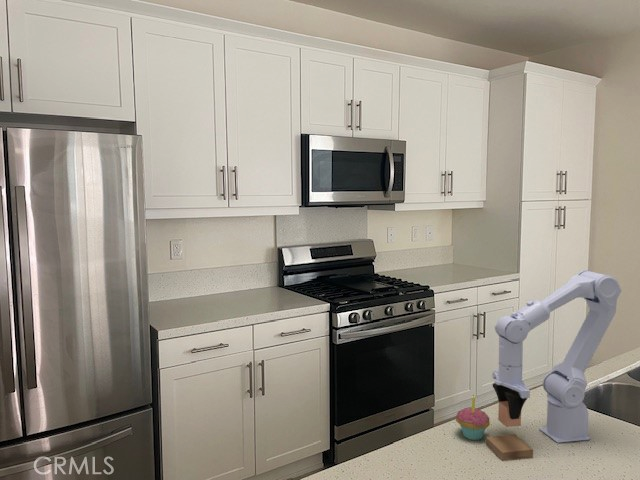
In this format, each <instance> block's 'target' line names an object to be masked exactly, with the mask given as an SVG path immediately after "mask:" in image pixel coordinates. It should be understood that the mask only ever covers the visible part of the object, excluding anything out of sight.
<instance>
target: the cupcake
mask: <svg viewBox="0 0 640 480" xmlns="http://www.w3.org/2000/svg"><path fill="white" fill-rule="evenodd" d="M475 401H476V398H475V394H473V395H472V397H471V406H469V407H464V408H463V409H461V410H459V411H457V413H456V414H455V421H456V422H457V423H458V424H459V425H460V428H461V430H462V434H463V437H465V438H466V439H468V440H473V441H474V440H475V441H477V440H478V441H479V440H481V439H482V438H483V436H484V433H485V431H486V429H487V428H488V427H489V426H490V422H491V421H490V417H489V415H488V414H487V413H486V412H485V411H483V410H481V409H479V408H476V407H475V404H476V402H475Z"/></svg>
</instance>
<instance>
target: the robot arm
mask: <svg viewBox="0 0 640 480" xmlns="http://www.w3.org/2000/svg"><path fill="white" fill-rule="evenodd" d="M621 292H622V288H621V285H620V284H619V281H618V280H617V278H616V277H615V276H613V275H611V274H603V273H599V272H594V271H592V270H588V269H587V270H586V269H584V270H582V271H579V273H577V274H574V275H573V276H571V278H570V279H569V281H567V282H566V283H565V284H564V285H562V286H560V287H559V288H557V290H555V291H554V292H552V293H550V295H548V296H547V297H545V298H544V299H543V300H537V299H534V300H528V301H527V302H526V303H525V304H526V305H524V306H523V307H521V308H520V309H518V310H516V311H512V312H511V313H510V315H504V316H501V317H500V318H499V319H498V321H497V322H496V325H494V330H495V332H496V334H497V336H498V370H492V379H493V380H494V383H492V388H493V390H494V391H495V394H496V398H497V400H498V403H499V402H502V401H508V405H509V414H510V418H511V419H519V416H520V413H521V414H522V409H523V407H524V404H525V402H526V401H527V400H528V399H529V398H531V394H530V393H531V390H530V389H528V387H527V386H526V384H525V382H524V381H523V350H524V348H523V347H524V345H523V344H524V341H525V340H526V339H527V337H528V335H529V333H530V332H531V331H532V330H534V329H535V328H537V327H539V326H540V325H542V324H543V323H545V322H546V321H549V319H550V316H551V312H554V311H555V310H558V308H561V307H562V306H564V305H566V304H568V303H570V302H572V301H574V300H575V299H578V298H581V299H584V300H585V302H586V304H587V306H588V308H589V310H588V312H587V314H586V317H585V318H584V320H583V323H582V325H581V326H580V328H579V330H578V332H577V334H576V336H575V338H574V339H573V341H572V343H571V346H570V347H569V350H568V352H567V353H566V356H565V357H564V358H563V361H562V362H561V363H558V364H556V365H554V366H553V367H552V369H551V370H550V372H548V373H547V374H546V375H545V376H544V377H543V380H542V387H543V388H542V389H543V390H544V391H545V392H546V397H547V402H546V403H547V404H546V405H547V406H546V407H547V408H546V409H547V410H546V426H542V427H539V430H540V431H541V432H542V433H544V434H545V435H546V436H547V437H549V438H550V439H552V440H553V441H554V442H555V443H559V444H560V443H569V442H577V441H578V442H579V441H587V440H590V439H591V437H590V436H588V435H589V411H588V407H587V406H586V405H585V403H584V402H583V401H584V398H585V391H586V387H587V386H588V382H587V379H586V376H585V372H586V370H587V369H588V366H589V364H590V363H591V361H592V359H593V357H594V355H595V354H596V351H597V349H598V348H599V345H600V343H601V341H602V339H603V338H604V336H605V334H606V332H607V330H608V328H609V326H610V325H611V322H612V321H613V319H614V317H615V314H616V311H617V302H618V299H619V296H620V294H621Z"/></svg>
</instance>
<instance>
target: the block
mask: <svg viewBox="0 0 640 480" xmlns="http://www.w3.org/2000/svg"><path fill="white" fill-rule="evenodd" d="M497 414H498V415H497V416H498V418H497V419H498V420H497V421H499V422H500V423H501V424H502V425H504V427H506V428H511V427H520V426H521V425H522V412H521V413H520V416H519V419H511V418H510V414H509V405H508V401H502V402H499V401H498V413H497Z"/></svg>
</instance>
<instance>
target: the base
mask: <svg viewBox="0 0 640 480" xmlns="http://www.w3.org/2000/svg"><path fill="white" fill-rule="evenodd" d="M485 446H487V447H488V448H489V449H490V450H491V452H493V453H494V454H495V455H496V456H497V457H498V458H499V459H500V460H501V461H512V460H521V459H522V460H523V459H530V458H534V449H533V448H532V447H531V446H530V445H529V444H527V443H526V442H525V441H524V440H522V439H521V438H520V437H519V436H518V435H516V434H505V435H495V436H493V435H492V436H485Z"/></svg>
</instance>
